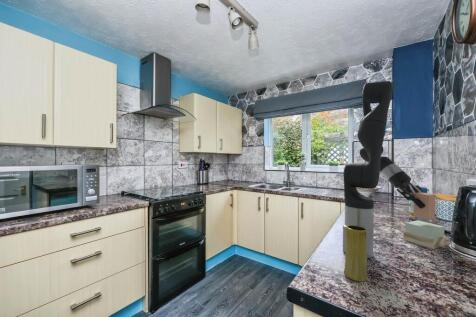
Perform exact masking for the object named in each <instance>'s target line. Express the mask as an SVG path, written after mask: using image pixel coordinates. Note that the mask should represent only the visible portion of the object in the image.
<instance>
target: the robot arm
mask: <svg viewBox="0 0 476 317" xmlns="http://www.w3.org/2000/svg"><path fill="white" fill-rule="evenodd" d="M393 93H394V85H393V82H392V81H390V80H382V81H374V82H373V81H372V82H366V83H365V84H364V85H363V87H362V92H361V100H362V101H361V102H362V103H361V104H362V112H363V118H362V119H361V120H360V122H359V126H358V130H357V139H358V141H359V143H360V145H361V146H362V147H361V148H360V150H359V156H360V158H361V159H362V160H364V161H365V163H364V162H349V163H346V164H345V165H344V168H343V190H344V191H343V192H344V193H343V194H344V196H343V198H344V225H343V226H342V251H343V252H344V253H346V226H347V225H357V226H361V227H364V228H366V232H367V234H366V244H367V259H371V258H373V257H374V226H375V224H374V220H375V219H374V218H375V216H374V215H375V202H374V200H373V199H372V198H371V197H368V196H365V195H363V194H362V193H361V192H359V191H358V189H367V190H374V189H376V188H377V186H378V184H379V180H380V174H382V175H383V177H384V178H385V179H386V180H387V181H388V182H389V183H390V184H391V185H392V187H394V188H395V189H396V191H397V192H398V193H399V194H400V195H401V196H403V198H405V199H406V200H407V201H410V200H411V201H413V202H414V203H415V204H416V205H417V206H418V207H419V208H424V207H425V204H424V203H423V202H422V201H421V200H420V199H419V198H418V197H417V196H416V195H415V194H414V193H425V192H424V191H423V190H422V189H421V187H422V186H420V185H419V184H416V185H414V184H413V183H412V182H411V181H412V177H410V176H409V175H408V174H407V173H406V172H405V171H404V169H402V168H401V167H400V166H399V165H397V164H395V162H394V161H393V160H392V159H390V158H389V157H388V156H382V154H383V153H384V139H385V136H386V132H387V131H386V129H387V122H388V113H389V109H390V105H391V101H392V97H393ZM372 104H377V106H375V108H373V109H372V107H371V106H372ZM417 198H418V199H417Z"/></svg>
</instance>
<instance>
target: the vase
mask: <svg viewBox="0 0 476 317" xmlns="http://www.w3.org/2000/svg"><path fill="white" fill-rule="evenodd" d="M366 234H367V232H366V228H364V227H361V226H357V225H347V226H346V252H345V257H344V258H345V260H344V261H345V262H344V271H343V274H344V275H345V276H346V277H347V278H349V279H351V280H353V281H355V282H366V281H368V279H369V278H368V258H367V244H366Z"/></svg>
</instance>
